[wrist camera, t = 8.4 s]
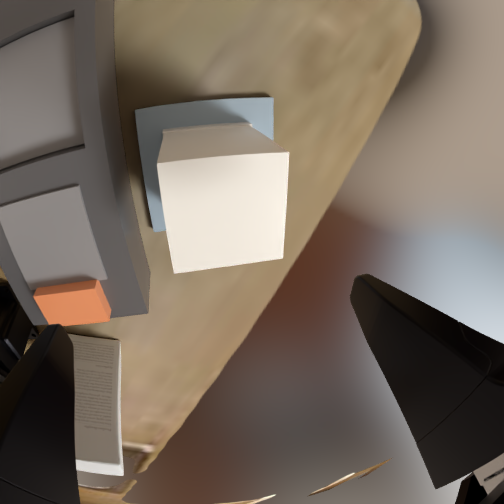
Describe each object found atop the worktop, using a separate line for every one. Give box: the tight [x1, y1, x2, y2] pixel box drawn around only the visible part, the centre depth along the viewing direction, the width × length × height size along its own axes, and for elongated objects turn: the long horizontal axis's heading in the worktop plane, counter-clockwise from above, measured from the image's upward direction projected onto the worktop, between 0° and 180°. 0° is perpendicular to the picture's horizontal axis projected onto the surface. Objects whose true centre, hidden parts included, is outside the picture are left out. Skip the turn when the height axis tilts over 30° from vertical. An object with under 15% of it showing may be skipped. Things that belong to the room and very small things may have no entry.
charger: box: [157, 122, 289, 274], centre depth 14 cm, size 5×5×7 cm
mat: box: [135, 97, 273, 232], centre depth 17 cm, size 8×8×1 cm
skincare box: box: [68, 334, 124, 476], centre depth 19 cm, size 6×4×12 cm
